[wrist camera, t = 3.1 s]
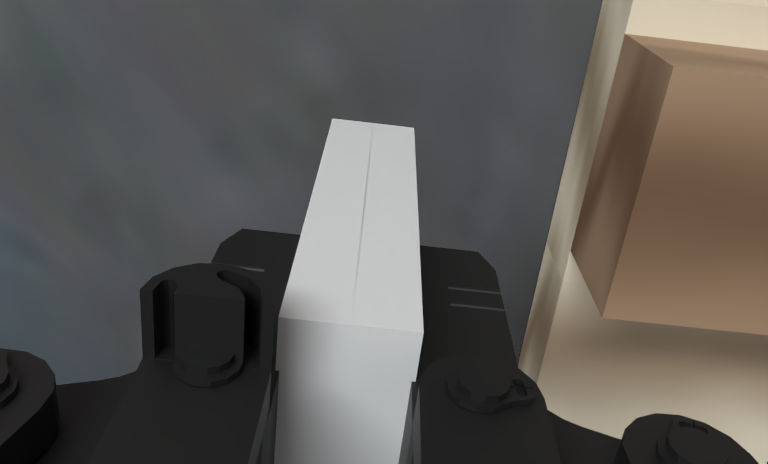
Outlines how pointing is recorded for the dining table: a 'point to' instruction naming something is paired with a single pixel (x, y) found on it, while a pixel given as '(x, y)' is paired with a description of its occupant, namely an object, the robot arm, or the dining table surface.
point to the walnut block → (680, 189)
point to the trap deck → (630, 338)
